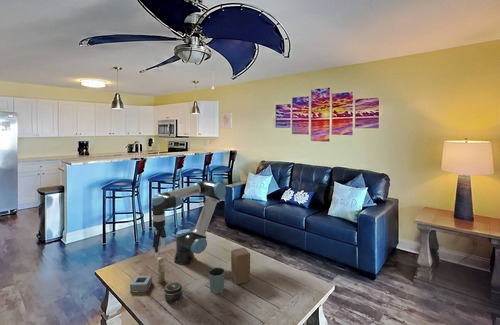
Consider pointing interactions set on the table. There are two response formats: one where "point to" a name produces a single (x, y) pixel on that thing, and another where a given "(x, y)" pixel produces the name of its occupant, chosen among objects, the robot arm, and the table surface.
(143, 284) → the socket
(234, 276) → the wooden block
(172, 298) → the jar
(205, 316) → the table surface
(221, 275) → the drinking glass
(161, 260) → the peg
